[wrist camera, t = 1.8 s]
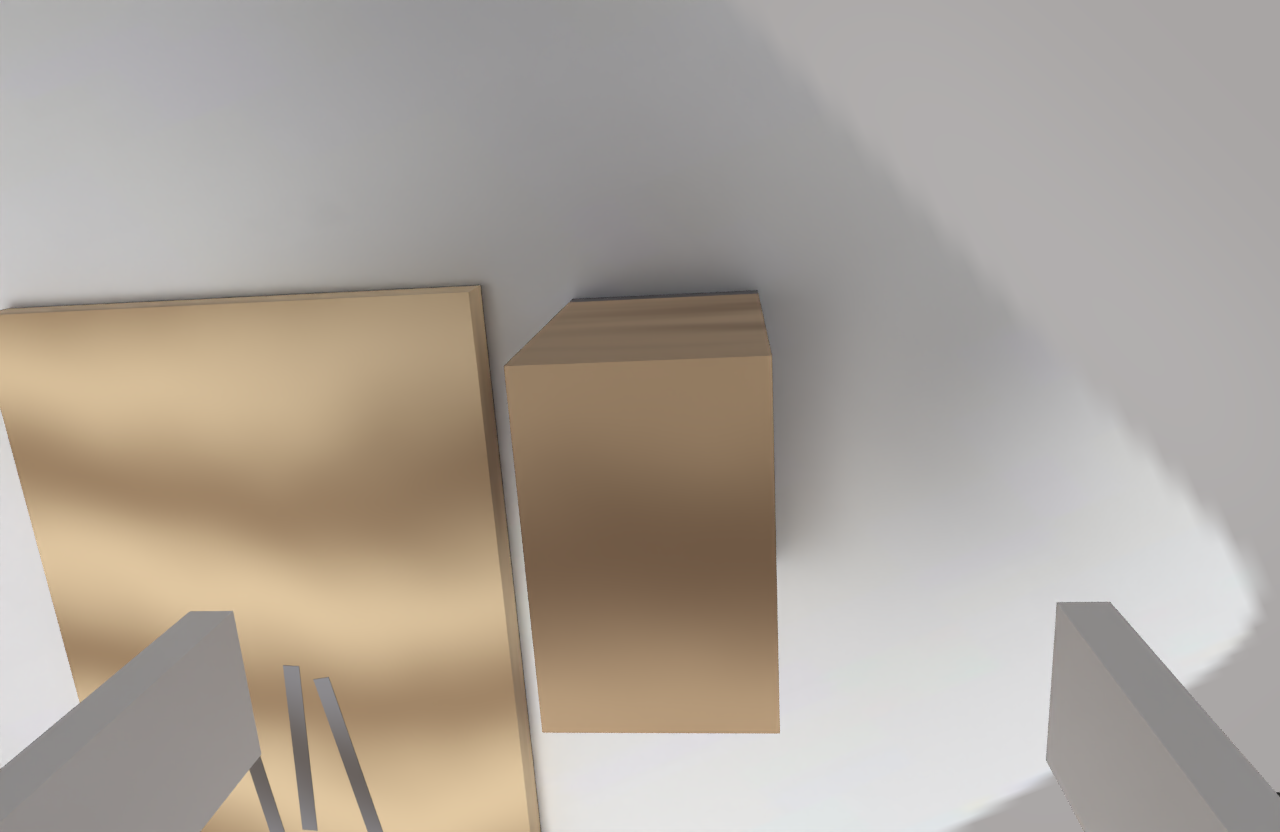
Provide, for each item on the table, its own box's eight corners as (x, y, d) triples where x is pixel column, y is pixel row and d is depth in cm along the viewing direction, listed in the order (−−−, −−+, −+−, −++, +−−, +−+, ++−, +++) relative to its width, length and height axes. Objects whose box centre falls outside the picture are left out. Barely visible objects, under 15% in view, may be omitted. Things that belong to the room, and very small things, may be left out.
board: (8, 308, 26) (-25, 316, 25) (480, 285, 25) (468, 292, 24) (171, 940, 33) (151, 970, 31) (554, 952, 31) (547, 984, 30)
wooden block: (572, 298, 25) (503, 366, 17) (757, 290, 24) (772, 356, 16) (594, 566, 27) (542, 732, 19) (764, 563, 26) (780, 733, 19)
